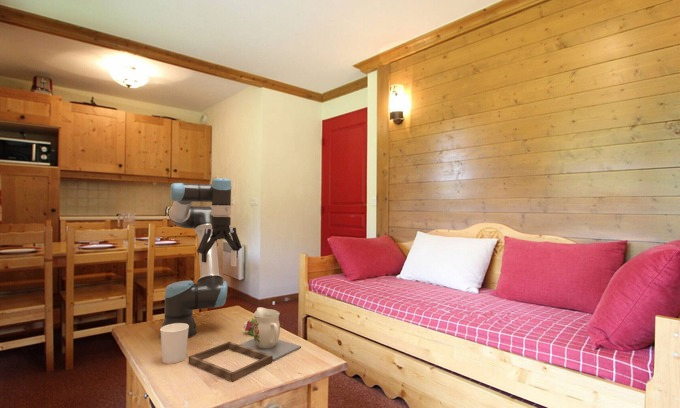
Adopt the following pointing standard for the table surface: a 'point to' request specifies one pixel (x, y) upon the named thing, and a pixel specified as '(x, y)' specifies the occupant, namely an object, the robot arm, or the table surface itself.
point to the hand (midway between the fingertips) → (220, 268)
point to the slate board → (274, 348)
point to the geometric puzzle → (249, 326)
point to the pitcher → (266, 327)
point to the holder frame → (224, 373)
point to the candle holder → (174, 342)
